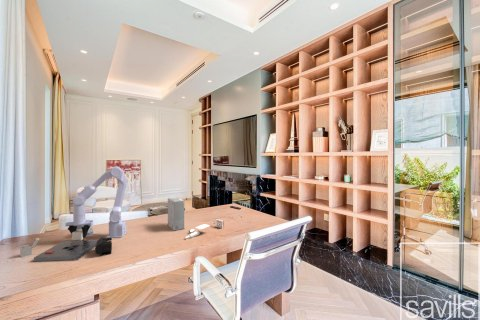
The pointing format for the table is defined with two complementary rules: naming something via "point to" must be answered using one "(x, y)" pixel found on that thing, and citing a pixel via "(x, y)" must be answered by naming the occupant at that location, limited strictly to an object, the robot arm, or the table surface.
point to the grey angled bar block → (27, 249)
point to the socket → (67, 251)
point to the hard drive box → (176, 213)
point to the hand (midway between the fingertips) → (79, 237)
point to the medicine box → (89, 228)
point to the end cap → (103, 246)
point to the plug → (77, 235)
